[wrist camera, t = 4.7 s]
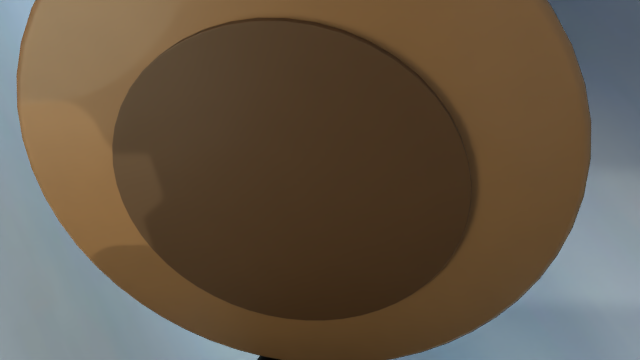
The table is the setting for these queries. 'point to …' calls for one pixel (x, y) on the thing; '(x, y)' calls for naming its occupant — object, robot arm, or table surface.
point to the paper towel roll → (310, 161)
